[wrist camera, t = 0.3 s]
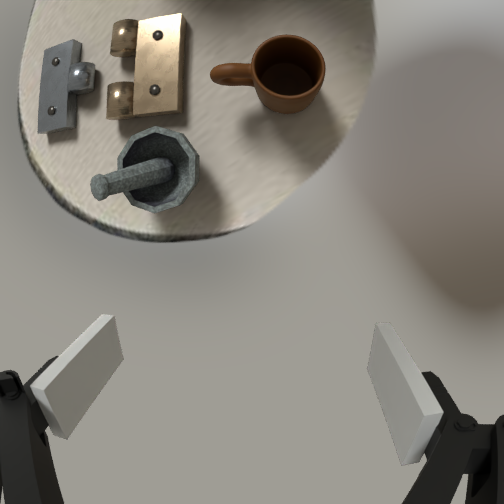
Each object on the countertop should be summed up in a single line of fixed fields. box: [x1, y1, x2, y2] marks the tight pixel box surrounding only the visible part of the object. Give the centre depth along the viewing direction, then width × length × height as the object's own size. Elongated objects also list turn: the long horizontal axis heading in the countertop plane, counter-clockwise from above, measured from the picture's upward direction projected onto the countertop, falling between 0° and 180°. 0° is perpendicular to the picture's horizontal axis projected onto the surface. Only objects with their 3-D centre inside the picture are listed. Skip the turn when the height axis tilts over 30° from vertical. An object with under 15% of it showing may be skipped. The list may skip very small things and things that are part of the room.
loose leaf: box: [38, 39, 95, 134], centre depth 36 cm, size 14×10×4 cm
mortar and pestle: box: [90, 126, 199, 213], centre depth 35 cm, size 11×9×12 cm
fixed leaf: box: [106, 13, 186, 120], centre depth 35 cm, size 14×10×4 cm
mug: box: [210, 35, 325, 114], centre depth 32 cm, size 12×8×9 cm, turn 92°
